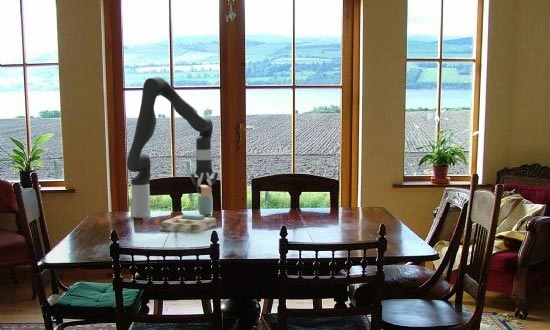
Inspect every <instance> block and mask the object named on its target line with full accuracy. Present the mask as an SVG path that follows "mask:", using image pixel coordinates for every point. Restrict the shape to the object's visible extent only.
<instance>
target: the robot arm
mask: <svg viewBox="0 0 550 330" xmlns="http://www.w3.org/2000/svg"><path fill="white" fill-rule="evenodd" d="M142 86H143V87H142V92H141V94H142V95H141V103H140V107H139V112H138V113H139V114H138V117H137V122H136V126H135V131H134V135H133V140H132V144H131V147H130V148H129V149H130V150H129V152H128V156H127V159H126V167H127V169H128V171H130V172H131V173H133V172H134V173H135V172H136V173H137V172H138V174H137V175H136V176H134V177H132V178H131V179H130V183H131V185H130V187H131V188H130V189H131V198H130V199H129V201H130V205H129V206H130V217H131V218H135V219H143V218H149V217H151V200H150V199H151V198H150V197H151V193H150V192H151V191H150V180H151V164H152V163H151V159H150V158H151V157H150V155H148V154H147V153H142V151H143V149H144V147H145V146H146V145H147V143H148V142H149V141H150V140H151V139H152V137H153V135H154V134H155V133H154V132H155V130H156V126H157V125H156V124H157V117H156V113H155V105H156V100H157V97H158V96H161V97H163V98H165V99H166V100H167V101H169V102H170V104H171V106H172V108H173V109H174V111H175V112H176V113H177V114H178V115H179V116H180V117H181V118H183V119H184V120H185V121H186V122H187V124H189V125H190V126H191V128H192V129H193V130H195V131H196V132H199V136H198V137H197V138H196V140H195V145H196V146H195V147H196V149H195V151H196V152H195V165H196V166H195V167H196V169H195V172H190V174H189V175H190V178H191V182H192V184H193V185H194V186H196V191H197V194H198V193H199V195H200V194H201V186H200V185H202V181H204V180H206V182H207V183H208V184H207V186H209V187H212V186H213V185H216V182H217V180H218V175H219V173H218V172H217V171H213V169H212V166H213V164H212V163H213V161H212V159H213V158H212V142H211V141H212V135H213V130H214V129H213V128H214V127H213V125H214V124H213V121H212V119H211V118H209V117H202V116H200V115H199V114H198V111H197V110H196V109H195V108H194V107H193V106H192V105H191V104H190V103H189V102H187V100H185V99H183V98H182V96H181V95H180V94H179V93H178V92H177V91H176V90H175V89H174V88H173V87H172V86H171V85H170V84H169V82H168V81H167V80H166V79H165V78H163V77H160V76H155V77H149V78H146V79H145V81H144V83H143V85H142ZM196 176H197V180H196V178H195V177H196ZM211 176H212V177H213V178H212V179H211ZM212 188H213V187H212Z"/></svg>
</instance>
